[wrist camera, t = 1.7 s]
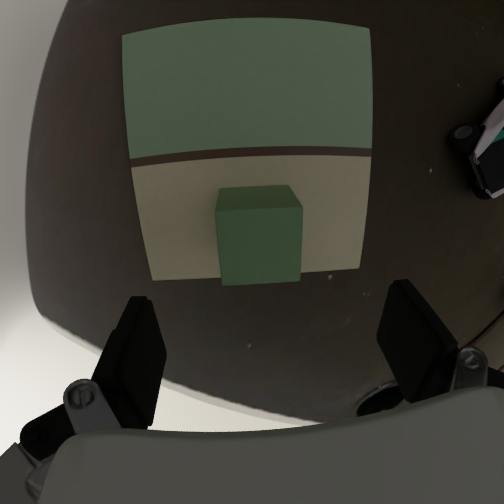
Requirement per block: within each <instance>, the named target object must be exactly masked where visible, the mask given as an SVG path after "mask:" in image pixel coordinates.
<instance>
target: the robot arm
mask: <svg viewBox="0 0 504 504" xmlns="http://www.w3.org/2000/svg"><path fill="white" fill-rule="evenodd" d="M377 342H378V344H379V346H380V348H381V350H382V352H383V354H384V356H385V358H386V360H387V362H388V364H389V366H390V368H391V370H392V372H393V374H394V376H395V378H396V381H397V383H398V385H399V387H400V389H401V391H402V393H403V396H404V398H405V400H406V401H407V402H410V404H409V405H405V406H402V407H398V408H394V409H391V410H387V411H383V412H379V413H374V414H370V415H366V416H361V417H356V418H351V419H346V420H341V421H335V422H329V423H323V424H316V425H309V426H302V427H294V428H284V429H274V430H261V431H243V432H242V431H241V432H182V431H181V432H180V431H161V430H147V429H148V426H151V425H152V423H153V419H154V414H155V408H156V403H157V399H158V394H159V389H160V384H161V380H162V375H163V371H164V366H165V362H166V357H167V352H166V348H165V344H164V341H163V338H162V335H161V332H160V328H159V325H158V321H157V318H156V315H155V311H154V307H153V304H152V301H151V300H148V299H147V297H146V296H132V297H131V298H130V299H129V301H128V304H127V306H126V308H125V310H124V312H123V314H122V316H121V318H120V320H119V323H118V325H117V327H116V329H114V330H113V331H112V332H111V334H110V336H109V338H108V341H107V343H106V345H105V347H104V350H103V352H102V354H101V356H100V359H99V361H98V364H97V366H96V368H95V371H94V373H93V375H92V378H91V380H90V379H80V380H76V381H74V382H73V383H71V384H70V385H69V386H68V387H67V388H66V390H65V392H64V395H63V402H64V403H63V404H61V405H60V406H58V407H56V408H54V409H52V410H50V411H49V412H47V413H45V414H43V415H41V416H39V417H37V418H36V419H34V420H32V421H30V422H28V423H27V424H26V425H25V426H24V427H23V428H22V431H21V433H20V443H19V444H17V443H16V442H15V443H14V444H13V445H12V446H11V447H10V448H9V449H7V450H6V451H5V452H4V453H3V454H2V455H1V456H0V504H504V373H503V372H501V371H498V370H495V369H493V368H490V367H488V359H487V357H486V355H485V354H484V353H483V352H482V351H481V350H480V349H478V348H476V347H473V346H465V347H462V348H461V349H460V350H459V349H458V348H457V345H458V342H457V341H456V339H455V338H454V337H453V335H452V334H451V333H450V331H449V330H448V329H447V327H446V326H445V325H444V323H443V322H442V321H441V319H440V318H439V317H438V315H437V314H436V313H435V312H434V310H433V309H432V308H431V307H430V305H429V304H428V303H427V302H426V300H425V299H424V298H423V297H422V295H421V294H420V293H419V292H418V290H417V289H416V288H415V287H414V286H413V284H412V283H411V282H410V281H409V280H408V279H402V280H395V281H394V282H393V284H391V285H390V286H389V290H388V294H387V298H386V302H385V306H384V310H383V313H382V317H381V321H380V324H379V328H378V331H377Z"/></svg>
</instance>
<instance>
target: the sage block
mask: <svg viewBox="0 0 504 504" xmlns="http://www.w3.org/2000/svg"><path fill="white" fill-rule="evenodd" d="M215 222H216V233H217V243H218V253H219V263H220V272H221V281H222V286H228V285H246V284H263V283H278V282H293V281H300V276H301V257H302V234H303V206H302V204H301V203H300V201H299V200H298V198H297V197H296V195H295V194H294V192H293V191H292V189H291V188H290V186H289V185H270V186H247V187H230V188H220V189H219V193H218V198H217V203H216V207H215Z"/></svg>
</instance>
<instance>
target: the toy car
mask: <svg viewBox="0 0 504 504" xmlns="http://www.w3.org/2000/svg"><path fill="white" fill-rule="evenodd" d="M498 86H499V89H500V91H501V92H502V94H503V95H504V77H503V78H501V79H500V80H499V83H498ZM449 138H450V142H451V144H452V146H453V147H454V149H455V150H456V151H458V152H461V153H465V152H470V153H471V154H470V155H469V156H468V157H469V160H470V162H471V164H472V167H473V170H474V172H475V176H474V177H473V179H472V181H471V186H472V190H473V192H474V194H475V195H476V197H478V198H479V199H484V200H486V199H490V198H495V197H497V196H499V195H501V194H503V193H504V97H503V98H502V99H501V101H500V102H499V103H498V104H497V105H496V107H495V108H494V109H493V110H492V111H491V112H490V113H489V115H488V116H487V117H486V118H485V119H484V120H483V121H482V123H481V124H480V127H479V128H478V127H477V125H475V124H473V123H464V124H461V125H459V126H457V127H456V128H454V129H453V130H452V132H451V133H450V136H449ZM474 149H475V150H474ZM472 152H473V153H472Z"/></svg>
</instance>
